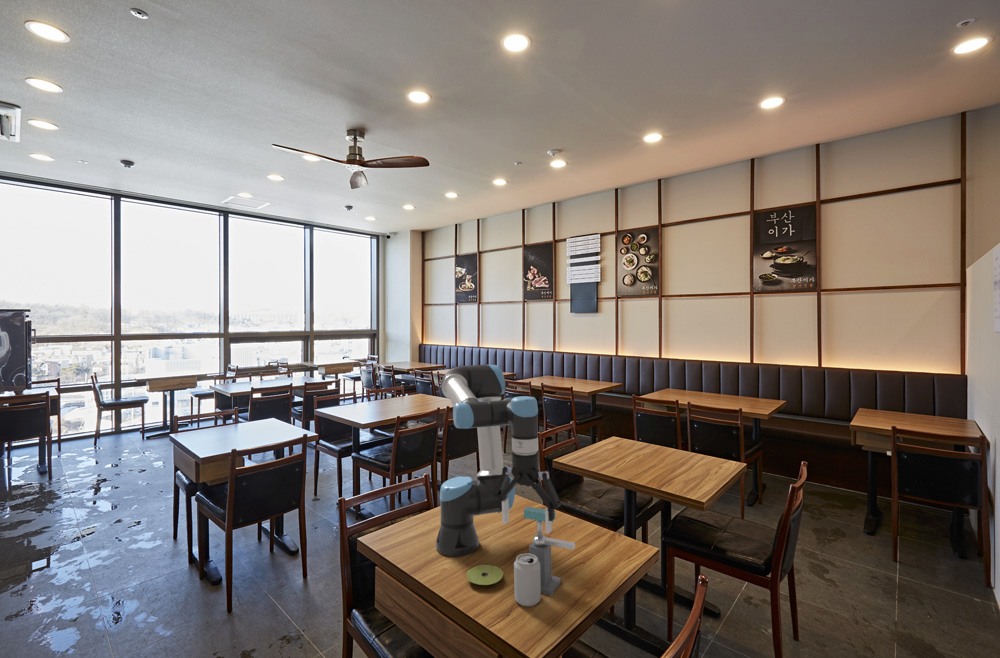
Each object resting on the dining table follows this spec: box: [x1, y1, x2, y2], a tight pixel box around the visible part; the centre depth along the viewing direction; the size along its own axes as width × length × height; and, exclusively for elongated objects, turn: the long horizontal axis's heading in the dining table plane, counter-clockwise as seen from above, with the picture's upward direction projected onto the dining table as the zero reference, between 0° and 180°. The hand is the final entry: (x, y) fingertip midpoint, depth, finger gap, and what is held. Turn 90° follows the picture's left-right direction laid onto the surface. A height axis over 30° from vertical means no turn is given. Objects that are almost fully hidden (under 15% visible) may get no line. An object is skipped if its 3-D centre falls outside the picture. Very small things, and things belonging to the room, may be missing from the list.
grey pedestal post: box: [528, 542, 562, 596], centre depth 135 cm, size 10×8×12 cm
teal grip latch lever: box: [523, 506, 576, 551], centre depth 134 cm, size 4×15×10 cm, turn 65°
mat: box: [466, 564, 504, 586], centre depth 138 cm, size 11×11×2 cm
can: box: [513, 552, 542, 608], centre depth 127 cm, size 8×8×12 cm
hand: (526, 527), depth 127 cm, fingers open, 13 cm apart
